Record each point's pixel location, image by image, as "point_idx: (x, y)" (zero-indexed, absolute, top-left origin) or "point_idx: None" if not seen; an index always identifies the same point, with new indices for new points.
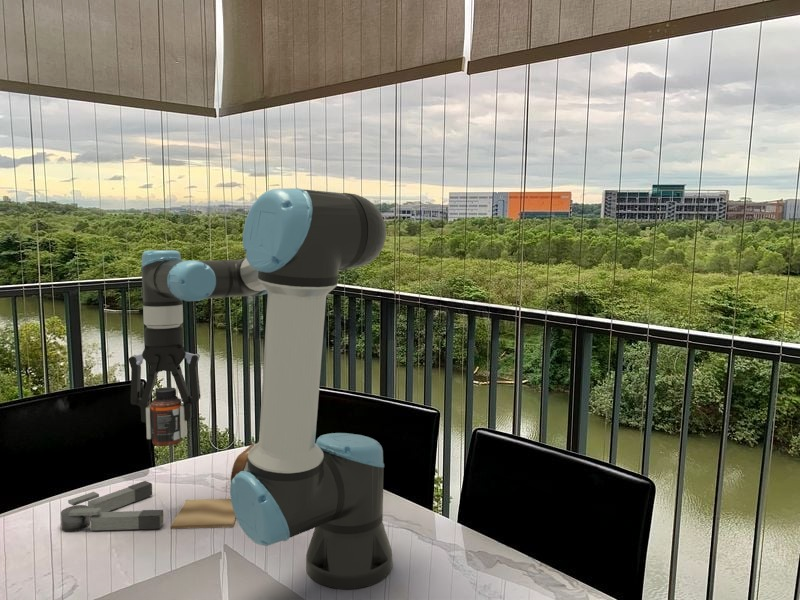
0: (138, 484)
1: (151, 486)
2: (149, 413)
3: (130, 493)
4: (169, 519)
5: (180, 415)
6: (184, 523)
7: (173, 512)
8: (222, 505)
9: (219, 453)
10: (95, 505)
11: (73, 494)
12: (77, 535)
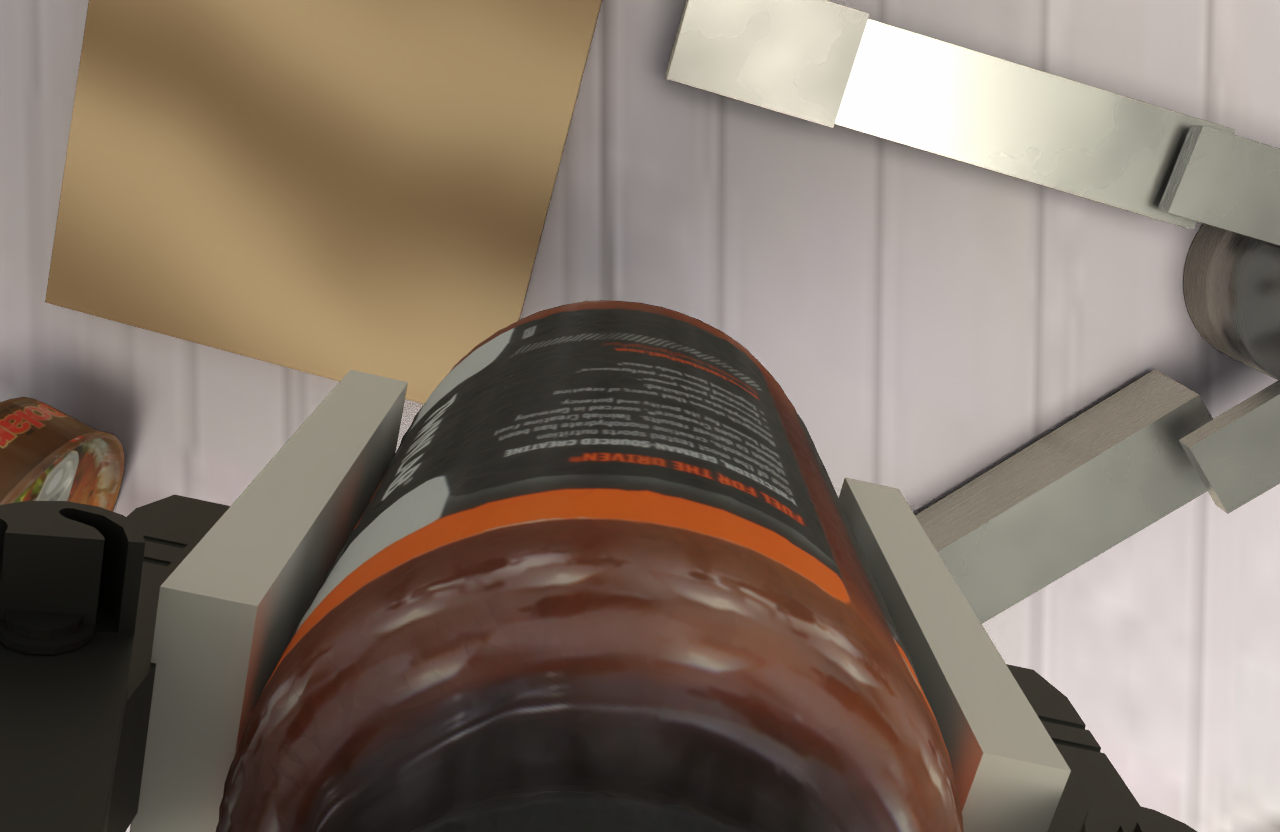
0: None
1: None
2: (953, 678)
3: None
4: (621, 150)
5: (305, 511)
6: None
7: (591, 270)
8: (207, 217)
9: None
10: (1181, 398)
11: (1277, 821)
12: (1271, 102)
